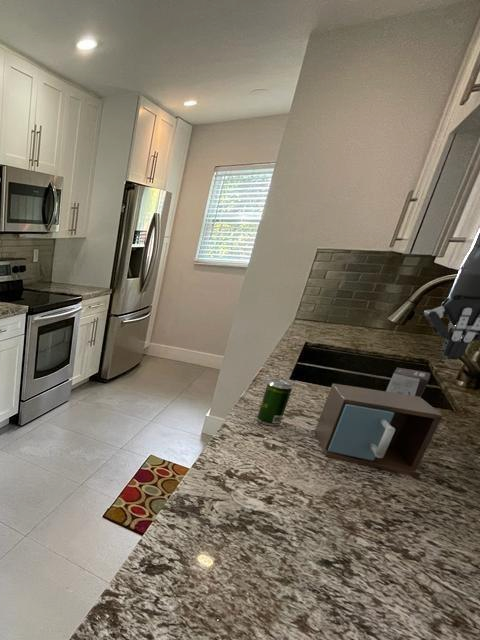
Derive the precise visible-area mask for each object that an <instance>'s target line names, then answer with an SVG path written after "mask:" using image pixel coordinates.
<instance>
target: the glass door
mask: <svg viewBox="0 0 480 640" xmlns="http://www.w3.org/2000/svg"><path fill="white" fill-rule="evenodd" d="M393 416H394V413H393V412H388V411H382V410H376V409H370V408H365V407H359V406H353V405H347V404H346V405H345V408H344V410H343V413H342V415H341V418H340V421H339V423H338V426H337V428H336V431H335V433H334V436H333V439H332V441H331V444H330V446H329V449H328V451H330V452H335V453H340V454H344V455H349V456H354V457H358V458H363V459H368V460H372V461H374V459H375V456H376V457H377V458H383V457H384V455H385V452H386V450H387V448H388V446H389V443H390V441H391V439H392V437H393V434H394V432H395V428H394V427H392V426H391V425H390V422H391V420H392V418H393Z"/></svg>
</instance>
